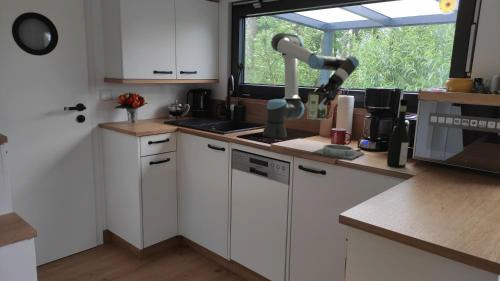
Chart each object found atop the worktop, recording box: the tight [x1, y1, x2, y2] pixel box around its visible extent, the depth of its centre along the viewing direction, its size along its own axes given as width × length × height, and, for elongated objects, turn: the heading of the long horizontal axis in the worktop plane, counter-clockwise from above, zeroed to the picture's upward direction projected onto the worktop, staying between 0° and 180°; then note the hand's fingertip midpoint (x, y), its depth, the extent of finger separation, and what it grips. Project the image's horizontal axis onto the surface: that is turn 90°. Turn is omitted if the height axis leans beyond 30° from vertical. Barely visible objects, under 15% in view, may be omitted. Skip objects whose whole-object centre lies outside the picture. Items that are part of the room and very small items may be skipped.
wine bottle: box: [386, 98, 410, 169], centre depth 161 cm, size 8×8×30 cm
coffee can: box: [306, 91, 328, 121], centre depth 194 cm, size 10×10×14 cm
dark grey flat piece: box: [311, 144, 365, 161], centre depth 184 cm, size 20×20×4 cm
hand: (312, 107), depth 193 cm, fingers closed on coffee can, 10 cm apart
